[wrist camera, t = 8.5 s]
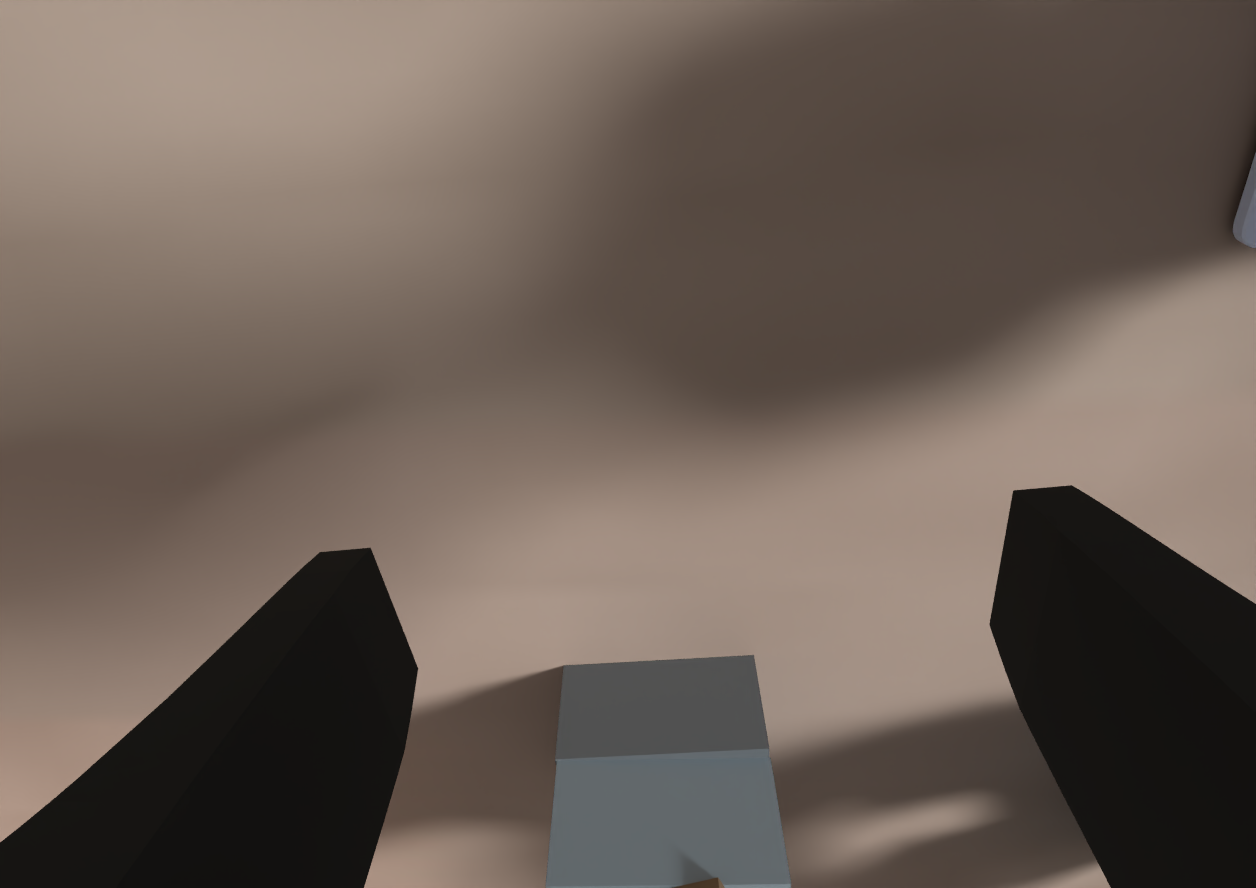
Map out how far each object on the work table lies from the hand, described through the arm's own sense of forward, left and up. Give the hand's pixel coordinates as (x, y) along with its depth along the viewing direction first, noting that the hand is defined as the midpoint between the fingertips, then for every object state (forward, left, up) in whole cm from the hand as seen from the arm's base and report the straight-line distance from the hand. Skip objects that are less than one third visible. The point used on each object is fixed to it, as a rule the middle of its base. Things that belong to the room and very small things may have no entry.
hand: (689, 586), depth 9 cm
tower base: (+1, +16, -11) cm, 19 cm away
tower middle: (+1, +16, -7) cm, 18 cm away
